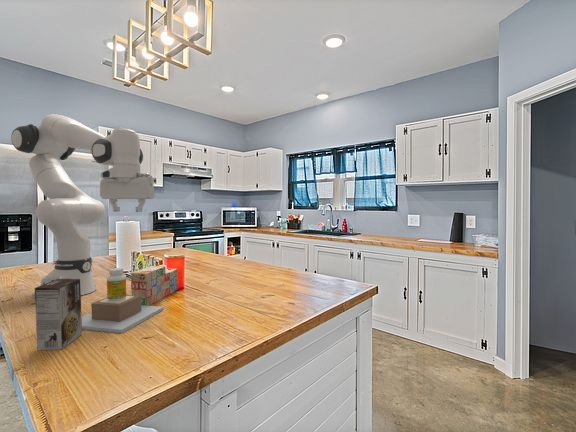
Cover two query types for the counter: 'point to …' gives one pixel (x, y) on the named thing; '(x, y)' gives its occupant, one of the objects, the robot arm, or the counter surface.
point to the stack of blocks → (153, 283)
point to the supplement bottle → (116, 285)
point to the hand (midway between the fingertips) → (127, 211)
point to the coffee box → (58, 313)
